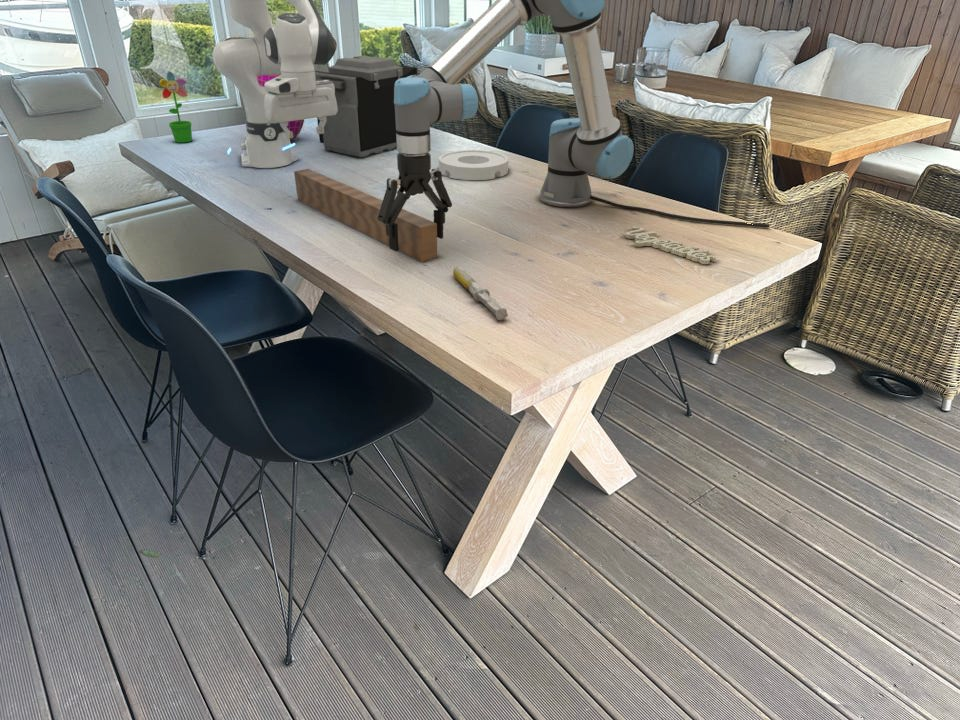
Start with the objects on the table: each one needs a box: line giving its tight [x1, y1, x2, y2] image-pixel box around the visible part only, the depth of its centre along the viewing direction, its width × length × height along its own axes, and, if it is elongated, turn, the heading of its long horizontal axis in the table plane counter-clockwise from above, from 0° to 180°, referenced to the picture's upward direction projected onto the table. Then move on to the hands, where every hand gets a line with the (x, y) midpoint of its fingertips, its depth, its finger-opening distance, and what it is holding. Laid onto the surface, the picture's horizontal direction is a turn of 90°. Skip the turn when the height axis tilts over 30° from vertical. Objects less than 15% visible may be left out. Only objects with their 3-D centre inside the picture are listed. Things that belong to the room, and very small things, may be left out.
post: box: [293, 168, 439, 263], centre depth 180 cm, size 61×5×8 cm, turn 41°
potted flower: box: [158, 70, 193, 144], centre depth 255 cm, size 9×8×25 cm
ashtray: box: [438, 149, 509, 181], centre depth 229 cm, size 23×23×4 cm
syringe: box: [452, 266, 509, 321], centre depth 145 cm, size 25×4×3 cm, turn 21°
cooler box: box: [315, 55, 419, 159], centre depth 250 cm, size 37×22×30 cm, turn 144°
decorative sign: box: [624, 226, 717, 265], centre depth 170 cm, size 26×1×10 cm
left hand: (305, 135), depth 189 cm, fingers open, 8 cm apart
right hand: (416, 243), depth 164 cm, fingers open, 12 cm apart
